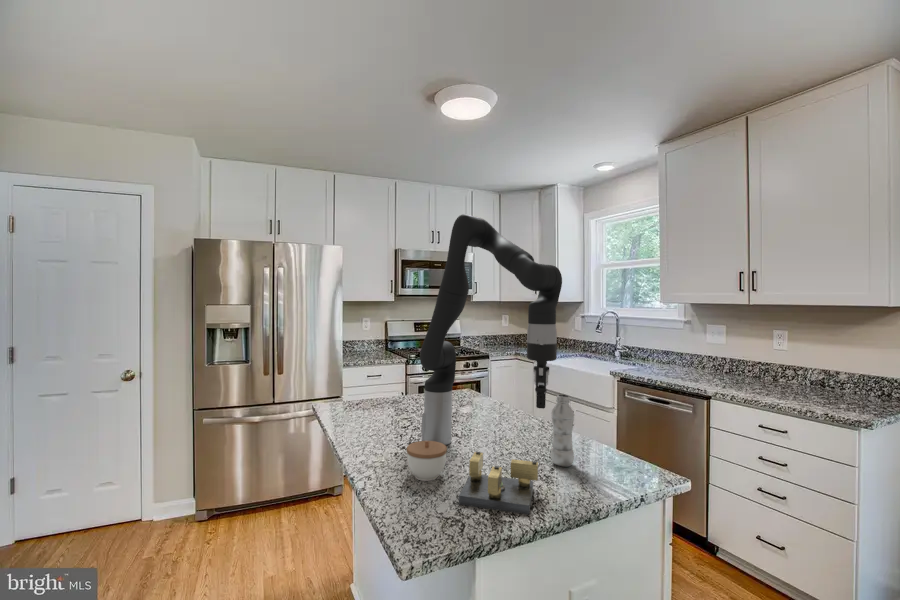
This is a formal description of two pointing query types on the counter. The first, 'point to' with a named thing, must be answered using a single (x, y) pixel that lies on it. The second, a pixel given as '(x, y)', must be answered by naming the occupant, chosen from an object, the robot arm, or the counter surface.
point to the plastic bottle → (562, 432)
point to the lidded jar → (426, 459)
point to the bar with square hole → (495, 482)
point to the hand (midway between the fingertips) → (541, 404)
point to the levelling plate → (510, 500)
